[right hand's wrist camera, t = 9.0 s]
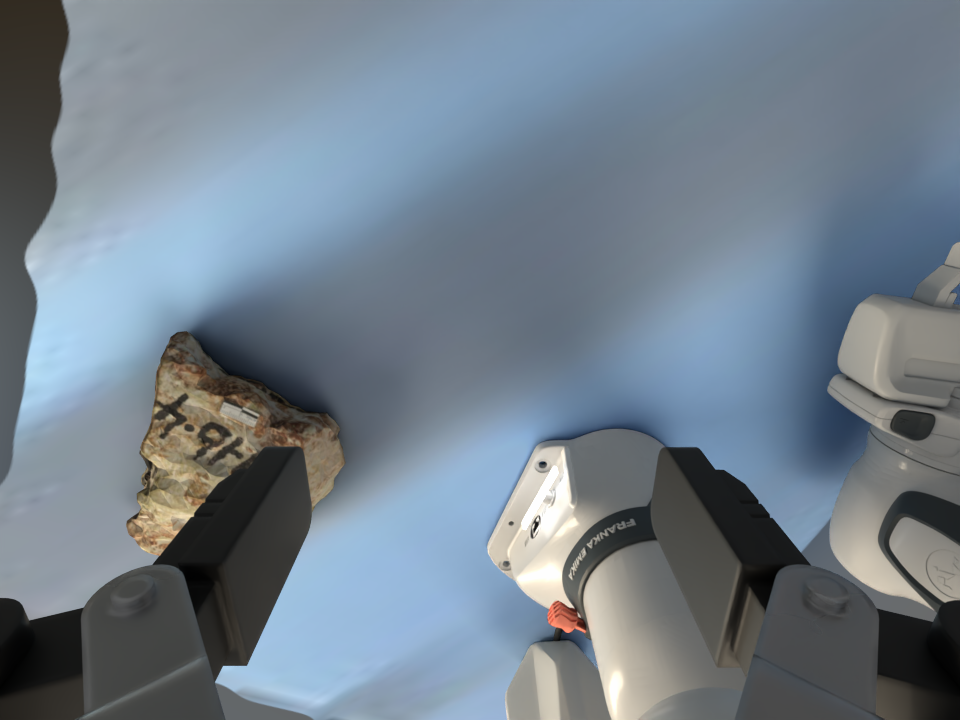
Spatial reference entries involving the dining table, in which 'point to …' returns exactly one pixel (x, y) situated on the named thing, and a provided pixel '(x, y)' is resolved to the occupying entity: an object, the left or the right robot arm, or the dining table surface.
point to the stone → (216, 439)
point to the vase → (556, 685)
